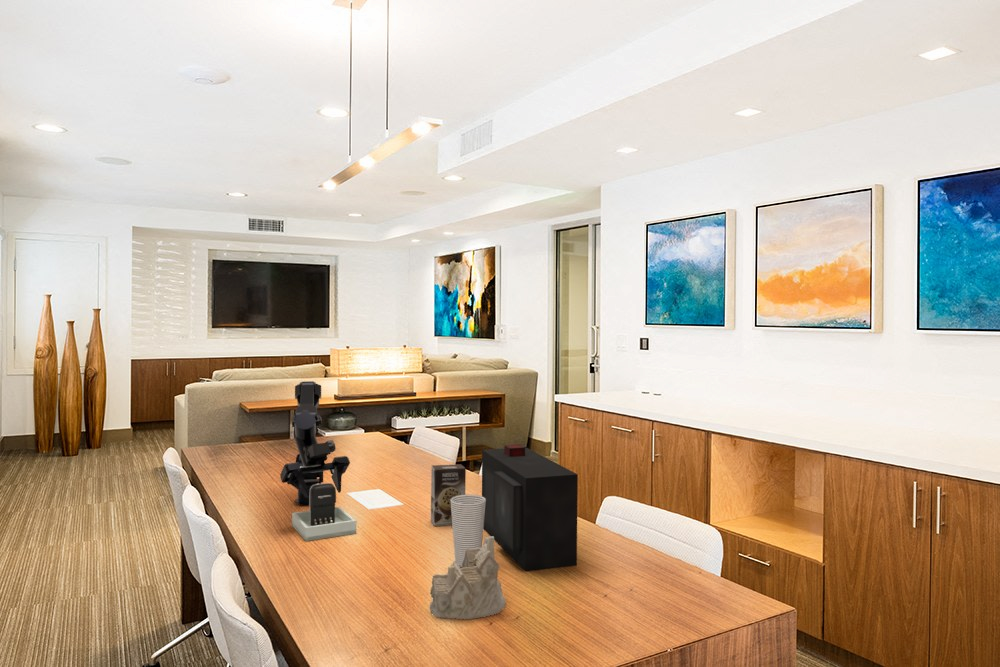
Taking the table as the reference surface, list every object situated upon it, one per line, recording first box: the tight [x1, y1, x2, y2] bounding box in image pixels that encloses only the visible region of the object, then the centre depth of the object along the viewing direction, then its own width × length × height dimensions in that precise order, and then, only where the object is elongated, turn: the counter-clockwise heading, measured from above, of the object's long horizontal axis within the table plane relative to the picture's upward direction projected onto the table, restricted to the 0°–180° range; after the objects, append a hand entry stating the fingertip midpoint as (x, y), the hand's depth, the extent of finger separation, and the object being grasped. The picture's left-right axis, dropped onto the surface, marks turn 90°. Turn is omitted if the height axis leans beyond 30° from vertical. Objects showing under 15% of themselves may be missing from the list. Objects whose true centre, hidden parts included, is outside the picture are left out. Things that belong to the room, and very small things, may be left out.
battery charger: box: [308, 482, 337, 526], centre depth 188 cm, size 7×4×11 cm, turn 117°
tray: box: [291, 506, 357, 542], centre depth 188 cm, size 16×14×4 cm
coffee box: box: [430, 463, 467, 527], centre depth 195 cm, size 9×6×16 cm
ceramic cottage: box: [429, 535, 507, 620], centre depth 141 cm, size 16×16×15 cm
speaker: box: [481, 444, 579, 572], centre depth 176 cm, size 15×35×24 cm, turn 18°
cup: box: [450, 494, 486, 568], centre depth 163 cm, size 8×8×16 cm
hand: (324, 494), depth 188 cm, fingers open, 9 cm apart
